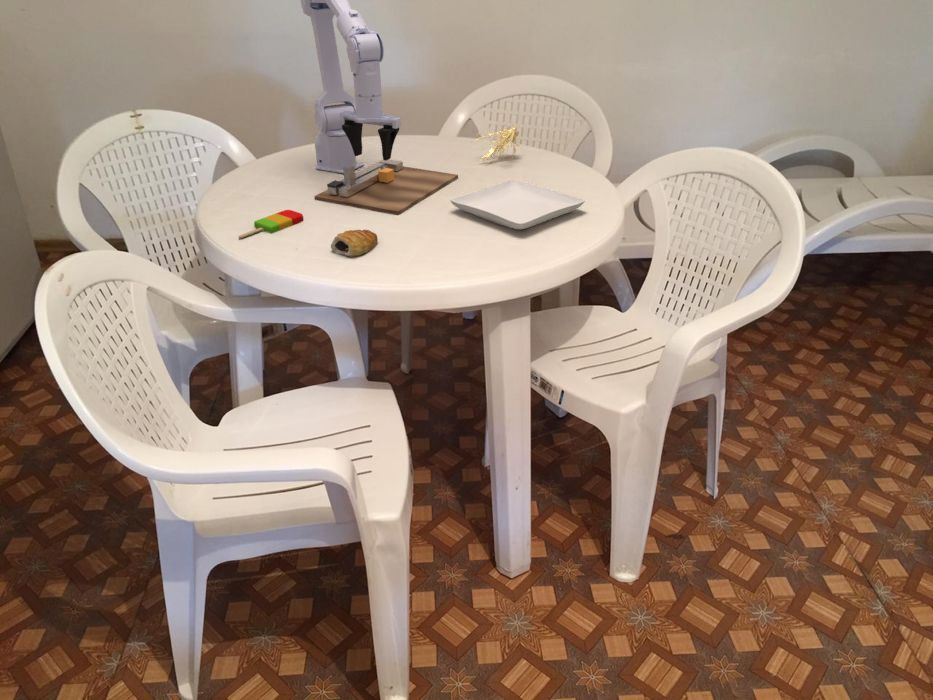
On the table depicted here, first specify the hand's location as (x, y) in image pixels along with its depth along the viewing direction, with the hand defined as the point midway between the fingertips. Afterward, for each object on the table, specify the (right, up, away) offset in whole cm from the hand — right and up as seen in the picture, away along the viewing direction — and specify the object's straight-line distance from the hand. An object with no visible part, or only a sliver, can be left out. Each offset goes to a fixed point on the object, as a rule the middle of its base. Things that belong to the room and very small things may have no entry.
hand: (372, 157), depth 162 cm
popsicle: (-19, -19, -13) cm, 30 cm away
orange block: (+2, -3, +9) cm, 10 cm away
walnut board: (+3, -5, +7) cm, 10 cm away
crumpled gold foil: (+30, +6, +26) cm, 40 cm away
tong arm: (-2, -5, +6) cm, 8 cm away
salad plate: (+32, -14, -6) cm, 35 cm away
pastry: (-1, -24, -23) cm, 33 cm away
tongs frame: (-2, -3, +9) cm, 10 cm away
